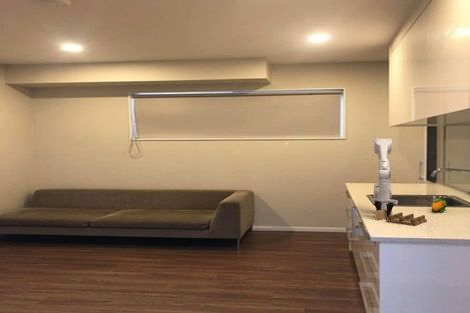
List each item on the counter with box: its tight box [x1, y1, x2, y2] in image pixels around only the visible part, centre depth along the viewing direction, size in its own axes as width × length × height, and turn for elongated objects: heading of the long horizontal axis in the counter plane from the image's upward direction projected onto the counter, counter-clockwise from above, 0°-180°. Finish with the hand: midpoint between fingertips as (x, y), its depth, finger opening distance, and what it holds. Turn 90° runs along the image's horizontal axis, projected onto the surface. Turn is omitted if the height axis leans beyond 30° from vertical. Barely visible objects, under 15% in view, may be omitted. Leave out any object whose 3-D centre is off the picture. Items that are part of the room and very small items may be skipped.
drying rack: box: [385, 212, 428, 227], centre depth 229 cm, size 16×15×3 cm
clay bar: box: [374, 208, 393, 221], centre depth 239 cm, size 14×3×5 cm, turn 136°
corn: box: [431, 198, 447, 213], centre depth 260 cm, size 7×8×20 cm
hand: (383, 215), depth 239 cm, fingers open, 5 cm apart
